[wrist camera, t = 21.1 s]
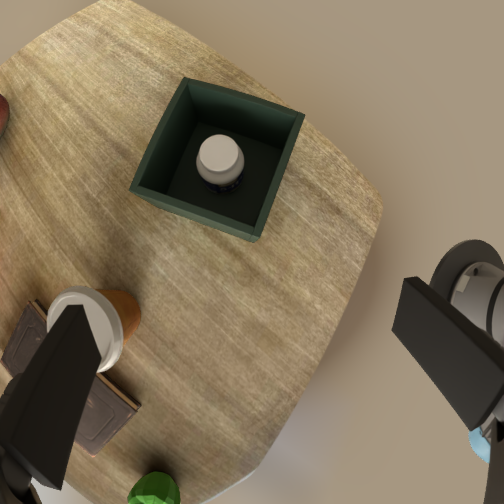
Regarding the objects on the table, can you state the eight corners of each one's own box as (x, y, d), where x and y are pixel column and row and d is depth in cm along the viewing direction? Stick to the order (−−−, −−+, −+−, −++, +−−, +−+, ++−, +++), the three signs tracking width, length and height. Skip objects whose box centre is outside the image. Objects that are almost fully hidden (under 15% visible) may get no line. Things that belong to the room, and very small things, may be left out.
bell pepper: (188, 473, 37) (179, 513, 27) (181, 499, 37) (173, 537, 27) (139, 458, 37) (122, 495, 27) (136, 486, 37) (121, 521, 27)
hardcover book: (36, 298, 36) (28, 300, 34) (141, 405, 37) (137, 412, 35) (6, 359, 36) (-1, 362, 34) (96, 452, 36) (91, 458, 34)
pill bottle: (224, 203, 37) (220, 188, 28) (194, 177, 37) (181, 156, 28) (252, 172, 37) (255, 149, 28) (221, 148, 37) (216, 119, 28)
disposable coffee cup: (83, 323, 37) (35, 344, 25) (105, 265, 37) (58, 269, 25) (137, 357, 37) (102, 393, 25) (163, 299, 37) (132, 318, 25)
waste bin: (288, 149, 38) (305, 114, 27) (253, 243, 38) (259, 238, 27) (196, 117, 38) (183, 76, 27) (156, 207, 37) (128, 190, 27)
